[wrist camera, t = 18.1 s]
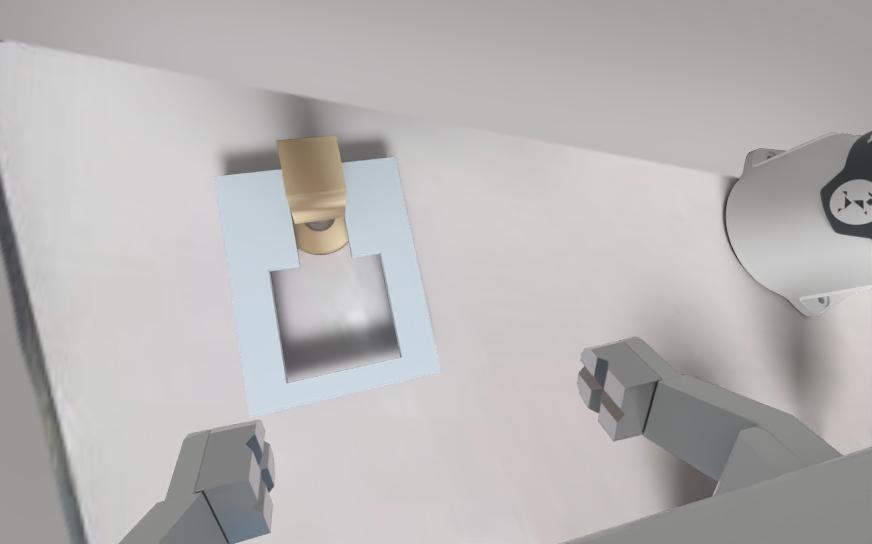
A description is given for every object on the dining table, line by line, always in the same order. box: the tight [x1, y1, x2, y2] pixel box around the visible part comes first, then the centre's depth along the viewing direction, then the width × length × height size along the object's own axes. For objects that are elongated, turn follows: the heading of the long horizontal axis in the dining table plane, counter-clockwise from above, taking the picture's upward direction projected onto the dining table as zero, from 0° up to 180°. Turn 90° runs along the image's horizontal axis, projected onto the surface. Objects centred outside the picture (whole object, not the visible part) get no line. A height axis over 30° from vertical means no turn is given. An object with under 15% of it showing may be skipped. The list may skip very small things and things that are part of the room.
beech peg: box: [277, 135, 348, 255], centre depth 32 cm, size 6×6×11 cm
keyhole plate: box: [214, 157, 441, 418], centre depth 35 cm, size 14×18×3 cm
